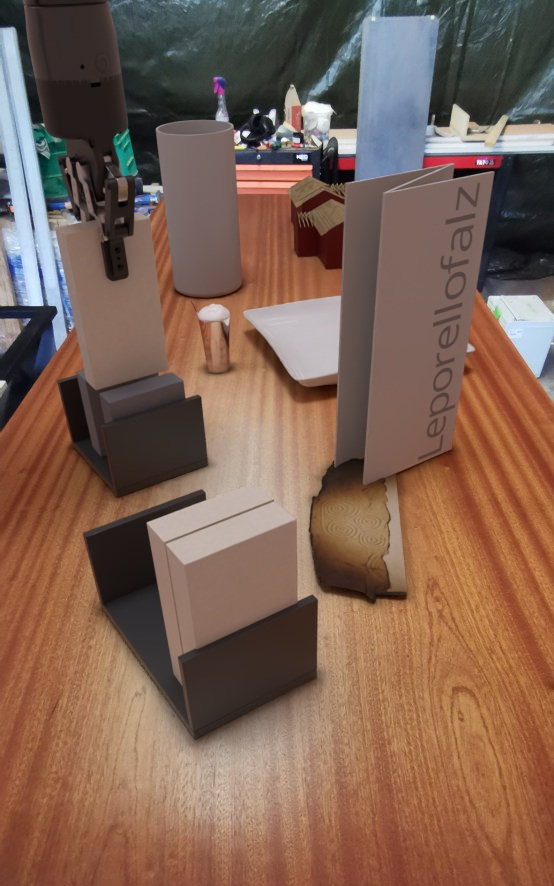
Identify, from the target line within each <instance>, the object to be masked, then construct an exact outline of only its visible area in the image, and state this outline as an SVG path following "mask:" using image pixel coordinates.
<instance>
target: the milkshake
mask: <svg viewBox="0 0 554 886" xmlns="http://www.w3.org/2000/svg"><path fill="white" fill-rule="evenodd" d="M190 303H191V306H192V307H193V308H194V311H195V313H196V315H197V319H198V324H199V329H200V334H201V339H202V345H203V350H204V357H205V363H206V368H207V371H208V372H209V373H212V374H222V373H226V372H228V370H229V369H230V330H231V329H230V327H231V326H230V325H231V312H230V311H229V309H228V308H226V307H225V306H224V305H222V304H216V303H211V304H209V305H207V306H203V307H202V308H201V309H200V310H199V312H198V311H197V309H196V307H195V305H194V303H193V301H192V300H190Z"/></svg>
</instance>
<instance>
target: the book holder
mask: <svg viewBox="0 0 554 886" xmlns="http://www.w3.org/2000/svg"><path fill="white" fill-rule="evenodd" d="M82 536H83V537H82V538H83V541H84V545H85V548H86V549H85V550H86V552H87V557H88V561H89V565H90V568H91V572H92V576H93V579H94V585H95V588H96V592H97V595H98V600H99V603H100V608H101V609H102V610H103V612H104V613H105V615H106V616H107V618H108V619H109V620H110V622H111V623H112V624H113V626H114V628H115V629H116V630H117V632H118V634H120V636H121V637H122V639H123V640H124V642H125V643H126V644H127V646H128V648H130V650H131V652H132V653H133V654H134V655H135V657H136V659H137V660H138V661H139V663H140V664H141V666H142V667H143V668H144V670H145V671H146V673H147V674H148V676H149V677H150V678H151V680H152V681H153V683H154V684H155V685H156V687H157V688H158V690H159V692H161V694H162V695H163V697H164V698H165V700H166V701H167V702H168V704H169V705H170V707H171V708H172V710H173V711H174V713H175V714H176V715H177V716H178V718H179V720H180V721H181V722H182V724H183V725H184V727H185V728H186V729H187V730H188V732H189V733H190V735H191V737H192V738H193V739H194V740H197V739H199V738H200V737H202V736H204V735H206V734H208V733H210V732H213V731H214V730H216V729H218V728H220V727H222V726H224V725H226V724H228V723H230V722H232V721H234V720H236V719H238V718H239V717H242V716H244V715H245V714H247V713H249V712H252V711H253V710H255V709H257V708H259V707H260V706H263V705H264V704H266V703H269V702H271V701H273V700H274V699H276V698H278V697H280V696H282V695H283V694H286V693H288V692H290V691H291V690H293V689H295V688H297V687H300V686H301V685H303V684H305V683H307V682H310V681H311V680H314V679H315V678H317V677H318V634H319V633H318V632H319V631H318V630H319V629H318V627H319V625H318V624H319V622H318V620H319V619H318V618H319V599H318V598H317V597H316V596H315V595H314V594H310V595H307V596H306V597H303V598H301V599H298V598H299V597H298V595H299V593H298V591H299V587H298V518H296V517H295V516H294V515H293V514H292V513H291V512H290V511H288V510H287V509H286V508H285V507H284V506H283V505H281V504H280V503H279V502H278V501H277V500H275V499H274V498H273V497H272V496H271V495H270V494H269V493H268V492H267V491H265V490H264V489H263V488H262V487H261V486H260V485H258V484H257V483H256V482H255V481H254V482H250V483H248V484H245V485H243V486H240V487H237V488H235V489H232V490H229V491H226V492H224V493H222V494H219V495H218V494H217V495H216V496H214V497H213V496H212V497H211V498H208V499H207V493H206V492H205V490H204V489H203V488H201V489H197V490H195V491H193V492H189V493H187V494H184V495H181V496H179V497H176V498H173V499H171V500H168V501H165V502H162V503H160V504H157V505H155V506H152V507H149V508H146V509H144V510H141V511H138V512H135V513H133V514H130V515H127V516H124V517H121V518H119V519H117V520H114V521H111V522H108V523H105V524H103V525H100V526H97V527H94V528H92V529H89V530H86V531H84V532H83V531H82Z"/></svg>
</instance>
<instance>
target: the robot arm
mask: <svg viewBox="0 0 554 886" xmlns="http://www.w3.org/2000/svg"><path fill="white" fill-rule="evenodd" d="M22 2H23V5H24V6H23V9H24V15H25V17H24V18H25V28H26V37H27V38H26V39H27V44H28V50H29V55H30V60H31V65H32V70H33V75H34V80H35V83H36V91H37V95H38V100H39V104H40V110H41V115H42V119H43V126H44V129H45V132H46V133H47V134H48V135H49V136H51V137H53V138H55V139H60V140H65V152H66V153H65V154H60V155H57V157H56V158H57V160H56V161H57V165H58V167H59V171H60V175H61V177H62V180H63V183H64V187H65V189H66V193H67V196H68V198H69V202H70V205H71V209H72V212H73V216H74V217H75V220H76V222H87V221H92V220H96V224H97V228H98V233H99V238H100V240H101V248H102V254H103V260H104V266H105V272H106V277H107V278H108V279H109V280H111V281H118V280H122V279H126V278H127V277H128V275H129V271H128V265H127V258H126V251H125V245H124V238H126V237H129V236H133V233H134V213H135V212H136V211H135V209H136V180H135V178H134V176H133V174H128V175H123V170H122V164H121V161H120V158H119V156H118V152H117V149H116V144H115V140H114V139H115V137H116V136H117V135H120V134H123V133H124V132H126V131H127V129H128V128H129V119H128V111H127V103H126V96H125V95H126V94H125V89H124V80H123V73H122V66H121V59H120V51H119V43H118V37H117V31H116V28H115V23H114V20H113V15H112V10H111V5H110V2H109V0H22ZM104 218H105V220H104ZM115 222H116V224H115Z"/></svg>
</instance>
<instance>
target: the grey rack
mask: <svg viewBox="0 0 554 886" xmlns="http://www.w3.org/2000/svg"><path fill="white" fill-rule="evenodd" d="M159 373H160V372H159ZM159 373H155V374H152V375H148V376H145V377H141V378H138V379H134V380H131V381H127V382H124V383H120V384H117V385H113V386H110V387H106V388H103V389H99V390H95V389H94V388H93V387H92V386H91V385H90V384H89V383H88V382H87V381H86V377H85V372H84V368H83V369H79V370H76V372H75V375H70V376H67V377H64V378H61V379H57V380H56V382H57V387H58V391H59V395H60V399H61V403H62V408H63V412H64V416H65V421H66V424H67V428H68V433H69V436H70V440H71V444H72V445H71V446H72V448H73V449H74V450H75V451H76V452H77V453H78V454H79V455H80V456H81V458H82V459H83V460H84V461H85V462H86V463H87V465H88V466H89V467H90V468H91V469H92V470H93V471H94V472H95V474H97V476H98V477H99V478H100V479H101V480H102V482H104V484H105V485H106V486H107V487H108V489H109V490H111V492H112V493H113V494H114V495H115V496H116V498H121V497H123V496H125V495H128V494H132V493H134V492H137V491H139V490H142V489H145V488H148V487H152V486H154V485H157V484H160V483H162V482H165V481H169V480H171V479H173V478H176V477H179V476H182V475H185V474H187V473H190V472H191V473H192V472H193V471H196V470H198V469H202V468H205V467H207V466H209V459H208V458H209V457H208V448H207V439H206V429H205V418H204V409H203V400H202V399H203V398H202V396H201V395H200V394H194V395H192V396H189V397H186V392H185V391H186V390H185V383H184V380H183V379H182V378H181V377H180V376H178V375H177V374H175V373H174V372H173V371H171V372H167V373H164V374H161V375H160V374H159Z"/></svg>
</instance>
